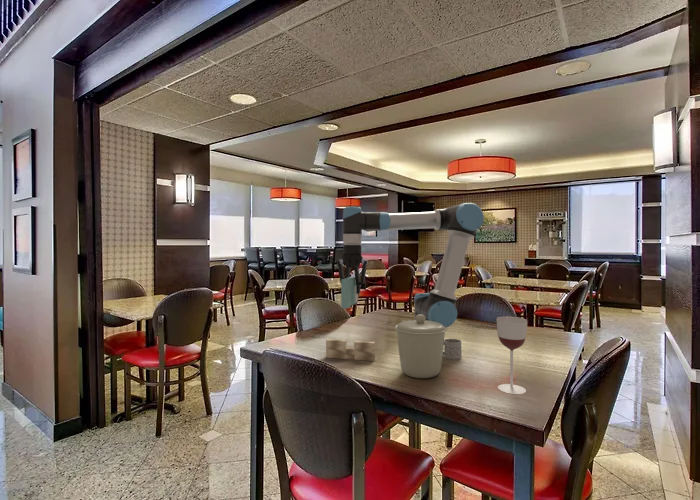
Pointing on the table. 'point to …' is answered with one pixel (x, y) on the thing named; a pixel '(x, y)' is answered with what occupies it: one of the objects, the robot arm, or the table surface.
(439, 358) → the canister
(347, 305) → the teal slotted plate
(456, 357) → the mug
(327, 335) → the table surface
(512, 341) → the wineglass
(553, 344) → the table surface
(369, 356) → the birch notched board
